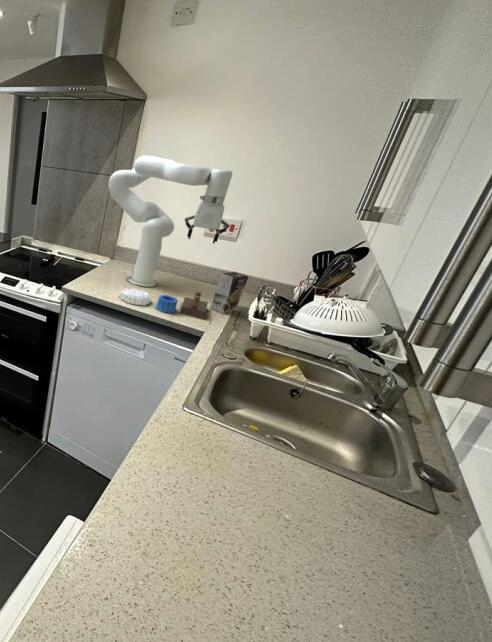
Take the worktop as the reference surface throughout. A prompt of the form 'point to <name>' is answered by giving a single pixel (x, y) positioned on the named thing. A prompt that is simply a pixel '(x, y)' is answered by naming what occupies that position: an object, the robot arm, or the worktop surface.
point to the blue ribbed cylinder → (166, 304)
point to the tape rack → (194, 306)
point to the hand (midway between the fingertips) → (201, 240)
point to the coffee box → (229, 292)
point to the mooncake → (135, 296)
